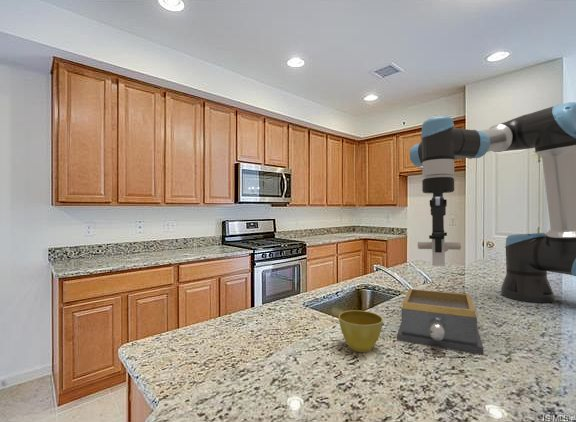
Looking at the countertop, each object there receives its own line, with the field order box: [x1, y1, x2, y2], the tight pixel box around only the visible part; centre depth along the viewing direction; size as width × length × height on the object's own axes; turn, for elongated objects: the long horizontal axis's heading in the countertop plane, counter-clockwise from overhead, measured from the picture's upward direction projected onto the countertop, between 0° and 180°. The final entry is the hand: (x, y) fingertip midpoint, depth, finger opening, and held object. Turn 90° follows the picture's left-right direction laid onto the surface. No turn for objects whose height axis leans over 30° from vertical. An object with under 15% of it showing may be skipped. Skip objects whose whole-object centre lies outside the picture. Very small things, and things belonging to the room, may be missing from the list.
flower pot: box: [338, 309, 384, 353], centre depth 71 cm, size 10×10×7 cm
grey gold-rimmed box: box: [396, 288, 484, 355], centre depth 77 cm, size 18×22×9 cm
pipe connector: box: [417, 241, 462, 253], centre depth 79 cm, size 10×10×10 cm
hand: (438, 262), depth 79 cm, fingers closed on pipe connector, 10 cm apart
